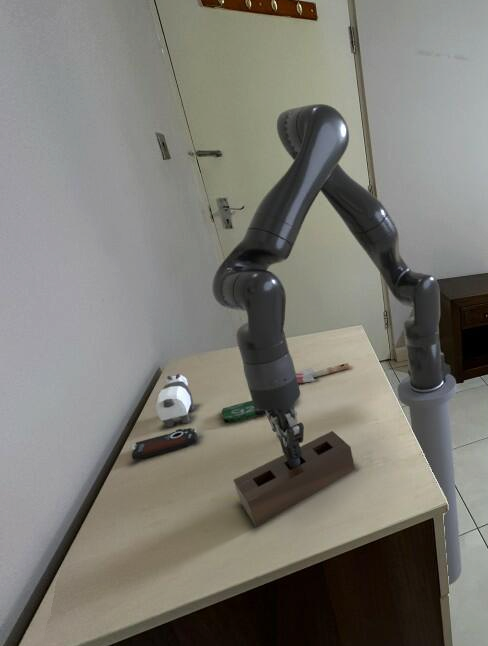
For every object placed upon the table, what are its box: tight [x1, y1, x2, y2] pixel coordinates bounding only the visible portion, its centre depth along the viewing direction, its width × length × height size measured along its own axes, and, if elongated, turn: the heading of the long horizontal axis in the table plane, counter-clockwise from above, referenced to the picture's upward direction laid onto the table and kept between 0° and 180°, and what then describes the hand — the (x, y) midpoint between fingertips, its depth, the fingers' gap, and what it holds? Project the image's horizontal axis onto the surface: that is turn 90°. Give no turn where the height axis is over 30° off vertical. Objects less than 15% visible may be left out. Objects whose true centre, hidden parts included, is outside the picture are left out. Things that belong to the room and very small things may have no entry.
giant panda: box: [155, 373, 196, 428], centre depth 102 cm, size 15×6×10 cm, turn 29°
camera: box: [131, 427, 198, 461], centre depth 91 cm, size 6×3×11 cm
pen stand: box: [232, 430, 356, 528], centre depth 79 cm, size 8×19×6 cm, turn 139°
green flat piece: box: [221, 400, 296, 424], centre depth 104 cm, size 16×1×10 cm
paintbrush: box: [296, 362, 350, 384], centre depth 119 cm, size 4×3×20 cm
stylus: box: [280, 437, 301, 470], centre depth 77 cm, size 2×2×12 cm
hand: (292, 454), depth 77 cm, fingers closed on stylus, 2 cm apart
